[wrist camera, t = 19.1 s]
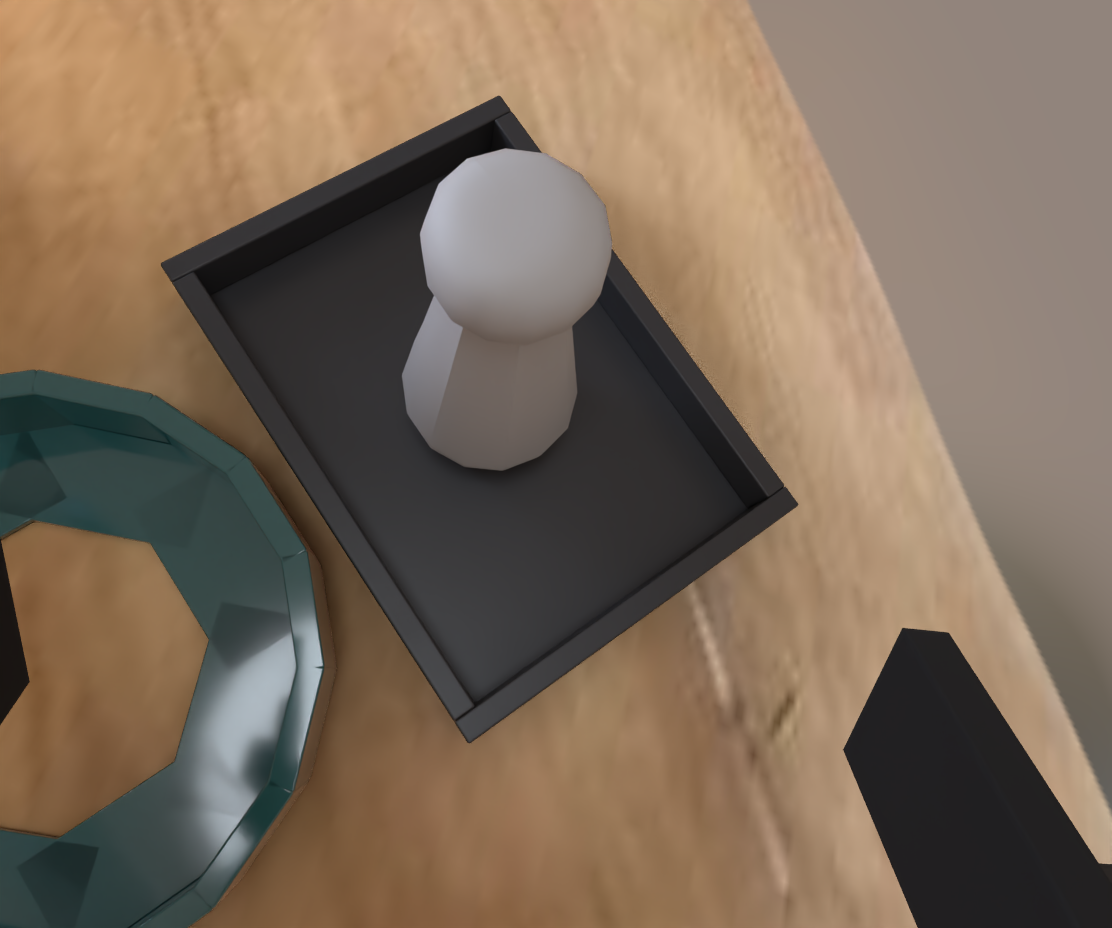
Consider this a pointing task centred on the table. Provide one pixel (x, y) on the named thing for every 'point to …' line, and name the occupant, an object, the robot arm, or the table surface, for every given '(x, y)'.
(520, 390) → the salt shaker
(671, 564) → the tray
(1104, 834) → the table surface
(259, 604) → the teal ring
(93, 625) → the table surface
